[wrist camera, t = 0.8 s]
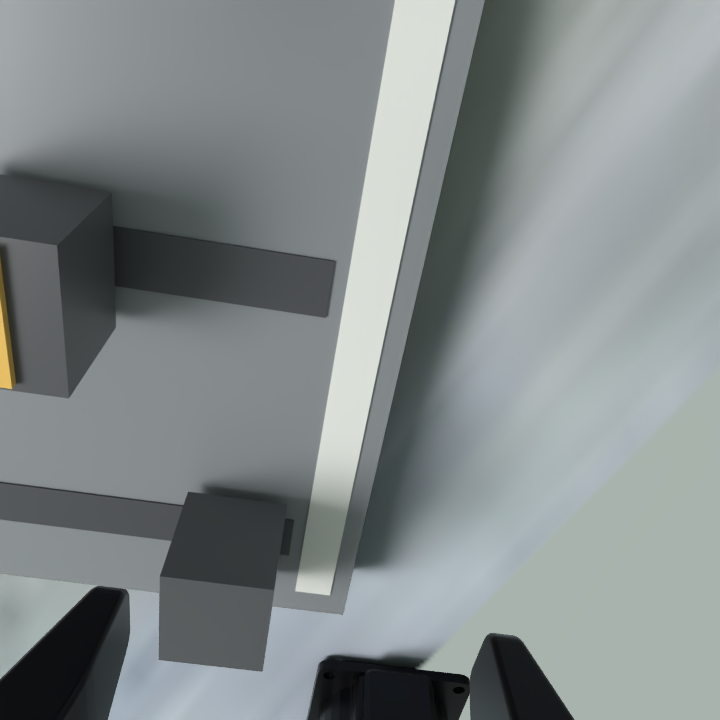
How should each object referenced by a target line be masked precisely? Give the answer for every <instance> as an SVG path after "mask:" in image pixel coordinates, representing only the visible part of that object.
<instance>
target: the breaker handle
mask: <svg viewBox="0 0 720 720" xmlns="http://www.w3.org/2000/svg"><path fill="white" fill-rule="evenodd" d="M115 328H116V306H115V273H114V240H113V208H112V192H108V191H102V190H95V189H89V188H83V187H77V186H71V185H64V184H58V183H52V182H46V181H39V180H33V179H27V178H21V177H15V176H8V175H2V174H0V389H3V390H10V391H18V392H25V393H32V394H39V395H46V396H54V397H61V398H68V399H69V398H70V396H71V395H72V393H73V392H74V390H75V389H76V387H77V386H78V384H79V383H80V381H81V380H82V378H83V377H84V375H85V374H86V372H87V371H88V369H89V367H90V366H91V364H92V363H93V361H94V360H95V358H96V357H97V355H98V354H99V352H100V351H101V349H102V348H103V346H104V345H105V343H106V342H107V340H108V339H109V337H110V336H111V334H112V333H113V331H114V330H115Z"/></svg>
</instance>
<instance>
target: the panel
mask: <svg viewBox="0 0 720 720" xmlns="http://www.w3.org/2000/svg"><path fill="white" fill-rule="evenodd" d="M484 2H485V0H0V174H2V175H8V176H15V177H21V178H27V179H33V180H39V181H46V182H52V183H58V184H64V185H71V186H77V187H83V188H89V189H95V190H102V191H108V192H112V208H113V240H114V273H115V306H116V328H115V330H114V331H113V333H112V334H111V336H110V337H109V339H108V340H107V342H106V343H105V345H104V346H103V348H102V349H101V351H100V352H99V354H98V355H97V357H96V358H95V360H94V361H93V363H92V364H91V366H90V367H89V369H88V371H87V372H86V374H85V375H84V377H83V378H82V380H81V381H80V383H79V384H78V386H77V387H76V389H75V390H74V392H73V393H72V395H71V396H70V398H69V399H68V398H61V397H54V396H46V395H39V394H32V393H25V392H18V391H10V390H3V389H0V574H7V575H15V576H24V577H32V578H40V579H49V580H57V581H65V582H74V583H82V584H90V585H99V586H107V587H115V588H124V589H132V590H141V591H149V592H157V593H160V602H159V660H165V661H173V662H182V663H191V664H200V665H209V666H218V667H227V668H236V669H245V670H253V671H263V664H264V657H265V651H266V644H267V637H268V631H269V624H270V617H271V611H272V606H274V607H283V608H291V609H299V610H308V611H316V612H325V613H333V614H341V615H343V612H344V608H345V603H346V599H347V595H348V590H349V586H350V582H351V577H352V573H353V569H354V564H355V560H356V556H357V551H358V547H359V543H360V538H361V534H362V530H363V525H364V521H365V517H366V512H367V508H368V504H369V499H370V495H371V491H372V486H373V482H374V478H375V473H376V469H377V465H378V460H379V456H380V452H381V447H382V443H383V439H384V435H385V430H386V426H387V422H388V417H389V413H390V409H391V404H392V400H393V396H394V391H395V387H396V383H397V378H398V374H399V370H400V365H401V361H402V357H403V352H404V348H405V344H406V339H407V335H408V331H409V326H410V322H411V318H412V313H413V309H414V305H415V300H416V296H417V292H418V287H419V283H420V279H421V274H422V270H423V266H424V261H425V257H426V253H427V248H428V244H429V240H430V235H431V231H432V227H433V222H434V218H435V214H436V209H437V205H438V201H439V197H440V192H441V188H442V184H443V179H444V175H445V171H446V166H447V162H448V158H449V153H450V149H451V145H452V140H453V136H454V132H455V127H456V123H457V119H458V114H459V110H460V106H461V101H462V97H463V93H464V88H465V84H466V80H467V75H468V71H469V67H470V62H471V58H472V54H473V49H474V45H475V41H476V36H477V32H478V28H479V23H480V19H481V15H482V10H483V6H484Z"/></svg>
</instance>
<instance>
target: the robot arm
mask: <svg viewBox="0 0 720 720" xmlns="http://www.w3.org/2000/svg"><path fill="white" fill-rule="evenodd" d="M129 635H130V608H129V594H128V592H127V590H126V589H122V588H114V587H106V586H97V587H95V588H93V589H91V590H90V591H89V592H88V593H87V594H86V595H85V596H84V597H83V598H82V599H81V600H80V601H79V602H78V603H77V604H76V605H75V606H74V607H73V608H72V609H71V610H70V611H69V612H68V613H67V614H66V615H65V616H64V617H63V618H62V619H61V620H60V621H59V622H58V623H57V624H56V625H55V626H54V627H53V628H52V629H51V630H50V631H49V632H48V633H47V634H45V635H44V636H43V637H42V638H41V639H40V640H39V641H38V642H37V643H36V644H35V645H34V646H33V647H32V648H31V649H30V650H29V651H28V652H27V653H26V654H25V655H24V656H23V657H22V658H21V659H20V660H19V661H18V662H17V663H16V664H15V665H14V666H13V667H12V668H11V669H10V670H9V671H8V672H7V673H6V674H5V675H4V676H3V677H2V678H1V679H0V720H108V716H109V713H110V709H111V705H112V702H113V698H114V694H115V691H116V687H117V683H118V680H119V676H120V672H121V669H122V665H123V661H124V657H125V654H126V650H127V646H128V641H129ZM469 694H470V715H471V720H574V718H573V717H572V715H571V714H570V713H569V711H568V710H567V708H566V706H565V705H564V703H563V702H562V700H561V699H560V697H559V696H558V694H557V693H556V691H555V690H554V688H553V687H552V685H551V684H550V682H549V681H548V679H547V678H546V676H545V675H544V673H543V672H542V670H541V669H540V667H539V666H538V664H537V663H536V661H535V660H534V658H533V657H532V655H531V654H530V652H529V651H528V649H527V648H526V646H525V645H524V643H523V642H522V641H521V640H520V639H519V638H518V637H516V636H513V635H504V634H496V633H490V634H488V635H487V636H486V638H485V639H484V641H483V644H482V646H481V649H480V651H479V653H478V656H477V658H476V661H475V663H474V666H473V668H472V671H471V676H470V680H469V678H468V677H466V676H465V675H461V674H452V673H444V672H435V671H426V670H417V669H409V668H400V667H391V666H383V665H374V664H365V663H356V662H348V661H339V660H324V661H322V662H320V663H319V665H318V669H317V674H316V678H315V683H314V688H313V692H312V697H311V702H310V706H309V711H308V716H307V720H459V717H460V715H461V712H462V710H463V708H464V705H465V703H466V701H467V698H468V696H469Z"/></svg>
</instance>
